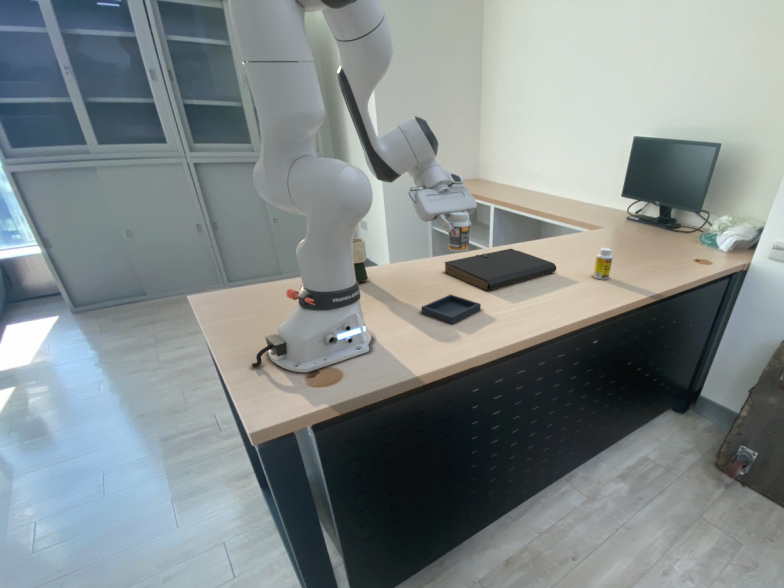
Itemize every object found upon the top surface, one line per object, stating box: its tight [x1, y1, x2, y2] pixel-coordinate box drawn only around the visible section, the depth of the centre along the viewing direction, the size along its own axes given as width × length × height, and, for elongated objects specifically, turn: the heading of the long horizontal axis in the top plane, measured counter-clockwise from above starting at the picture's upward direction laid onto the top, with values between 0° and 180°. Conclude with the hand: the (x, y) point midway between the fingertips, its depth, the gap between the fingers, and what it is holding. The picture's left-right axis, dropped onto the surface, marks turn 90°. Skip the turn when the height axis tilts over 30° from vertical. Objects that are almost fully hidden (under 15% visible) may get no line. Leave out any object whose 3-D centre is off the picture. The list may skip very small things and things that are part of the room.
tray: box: [420, 294, 482, 325], centre depth 114 cm, size 13×11×2 cm
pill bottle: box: [448, 212, 470, 253], centre depth 112 cm, size 6×6×10 cm
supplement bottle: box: [592, 247, 613, 280], centre depth 145 cm, size 6×6×10 cm
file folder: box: [443, 248, 557, 292], centre depth 145 cm, size 33×4×24 cm
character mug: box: [353, 237, 369, 283], centre depth 128 cm, size 11×7×13 cm, turn 46°
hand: (460, 229), depth 111 cm, fingers closed on pill bottle, 6 cm apart
